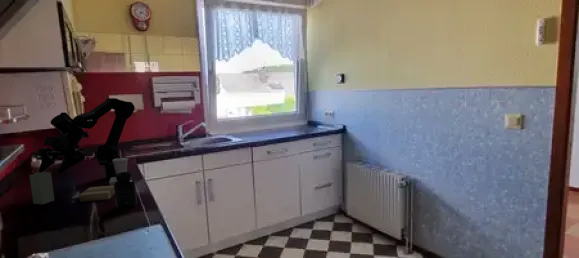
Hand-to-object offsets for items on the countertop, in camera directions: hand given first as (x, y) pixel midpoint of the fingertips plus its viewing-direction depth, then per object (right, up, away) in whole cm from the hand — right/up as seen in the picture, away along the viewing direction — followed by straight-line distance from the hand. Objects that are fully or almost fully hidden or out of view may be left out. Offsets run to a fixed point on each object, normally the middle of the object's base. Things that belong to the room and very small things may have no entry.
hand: (48, 173), depth 127 cm
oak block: (+18, -10, +3) cm, 21 cm away
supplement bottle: (+35, -11, -9) cm, 37 cm away
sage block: (-1, -11, -2) cm, 11 cm away
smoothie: (+15, -7, +26) cm, 31 cm away
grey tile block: (+21, -8, +14) cm, 27 cm away
